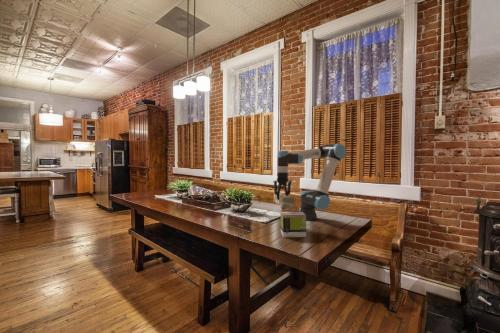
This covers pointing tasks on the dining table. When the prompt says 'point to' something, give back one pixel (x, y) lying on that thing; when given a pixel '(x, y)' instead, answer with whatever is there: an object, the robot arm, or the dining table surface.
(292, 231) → the tea box
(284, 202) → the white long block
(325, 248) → the dining table surface
